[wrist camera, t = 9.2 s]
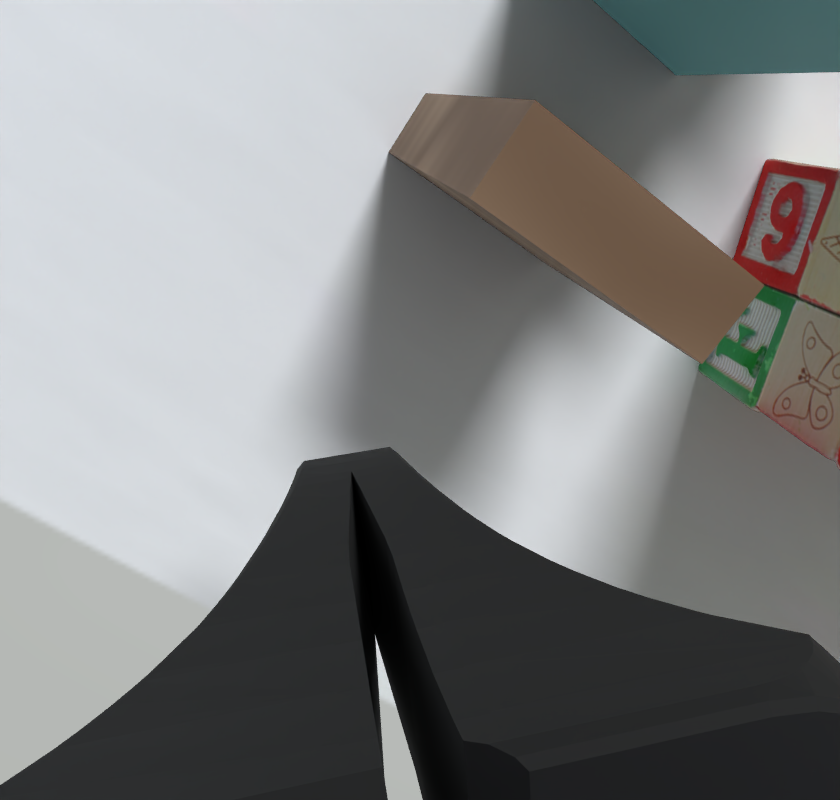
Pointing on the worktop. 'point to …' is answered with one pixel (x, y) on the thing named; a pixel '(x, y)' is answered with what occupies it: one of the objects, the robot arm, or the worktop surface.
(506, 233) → the walnut domino
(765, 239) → the stack of blocks
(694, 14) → the teal domino
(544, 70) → the worktop surface
